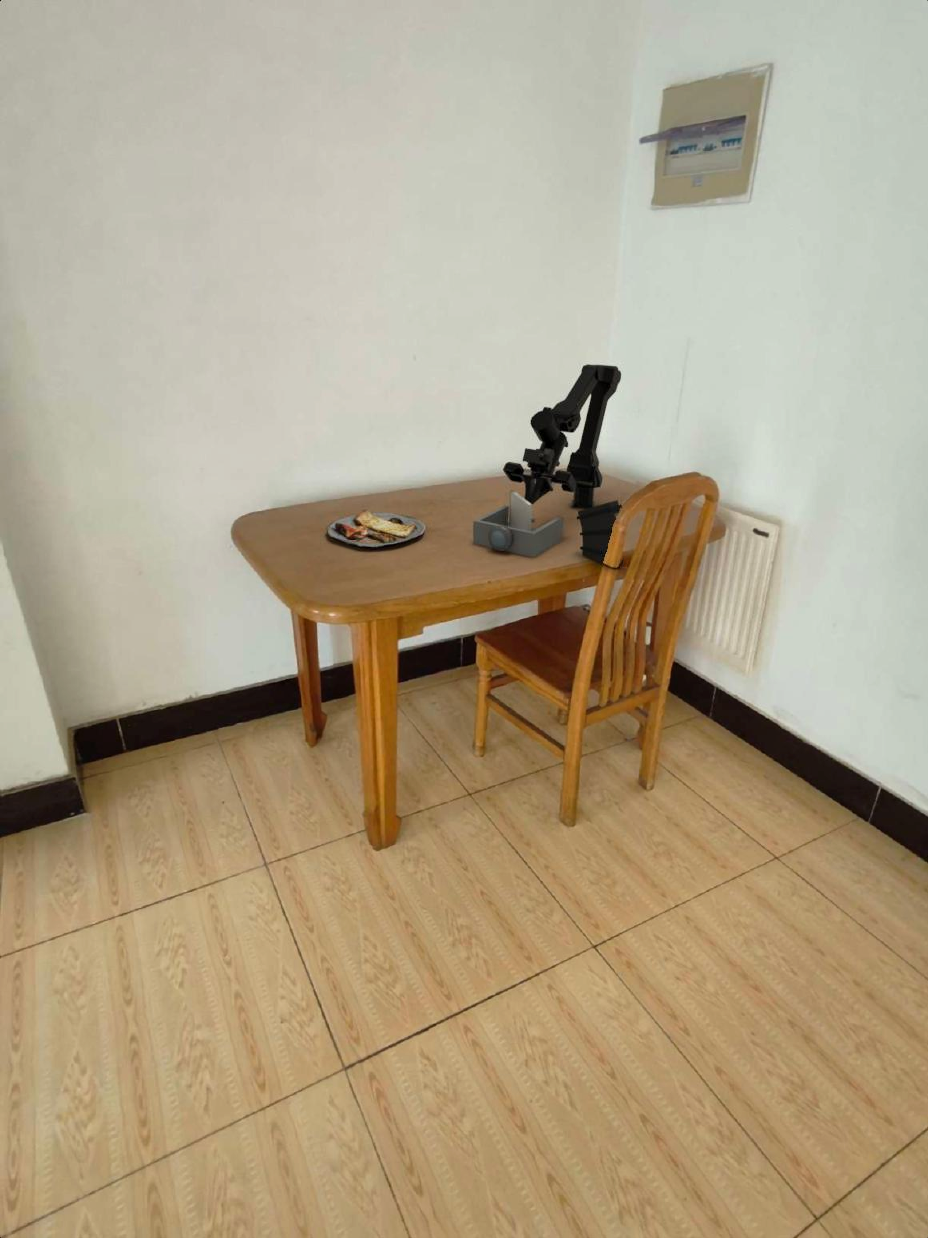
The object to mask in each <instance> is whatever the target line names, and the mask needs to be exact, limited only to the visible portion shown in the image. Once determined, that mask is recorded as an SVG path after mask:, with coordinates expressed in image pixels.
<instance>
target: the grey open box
mask: <svg viewBox="0 0 928 1238" xmlns="http://www.w3.org/2000/svg"><path fill="white" fill-rule="evenodd" d="M509 513H510V505H503V506H501V507H499V508H496V509H495V510H492V511H491V512H488V513H486V514H484V515H482V516H481V517H478V518H476V519H474V520H473V522H472V523H473V525H472V527H473V528H472V529H473V530H472V531H473V532H472V534H473V535H472V536H473V538H472V539H473V540H472V543H473V545H477V546H482V547H485V548H490V549H494V550H495V551H498V552H508V553H512V554H517V555H520V556H525V557H527V558H528V557H529V558H533V559H534V558H535V557H537V556H538V555H540V554H541V553H543V552H544V551H546V550H548V549H550V548H551V547H552V546H554V545H556V544H557V543H559V542H560V540H561V541H562V540H564V535H563V530H564V519H565V517H564V516H561V515H559V516H557V517H555V518H553V519H552V520H550V521H548V522H547V523H545V524H543V525H542V526H540V527H538V528H532V527H531V531H527V530H523V529H518V528H513V527H512V526H511V525H509Z"/></svg>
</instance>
